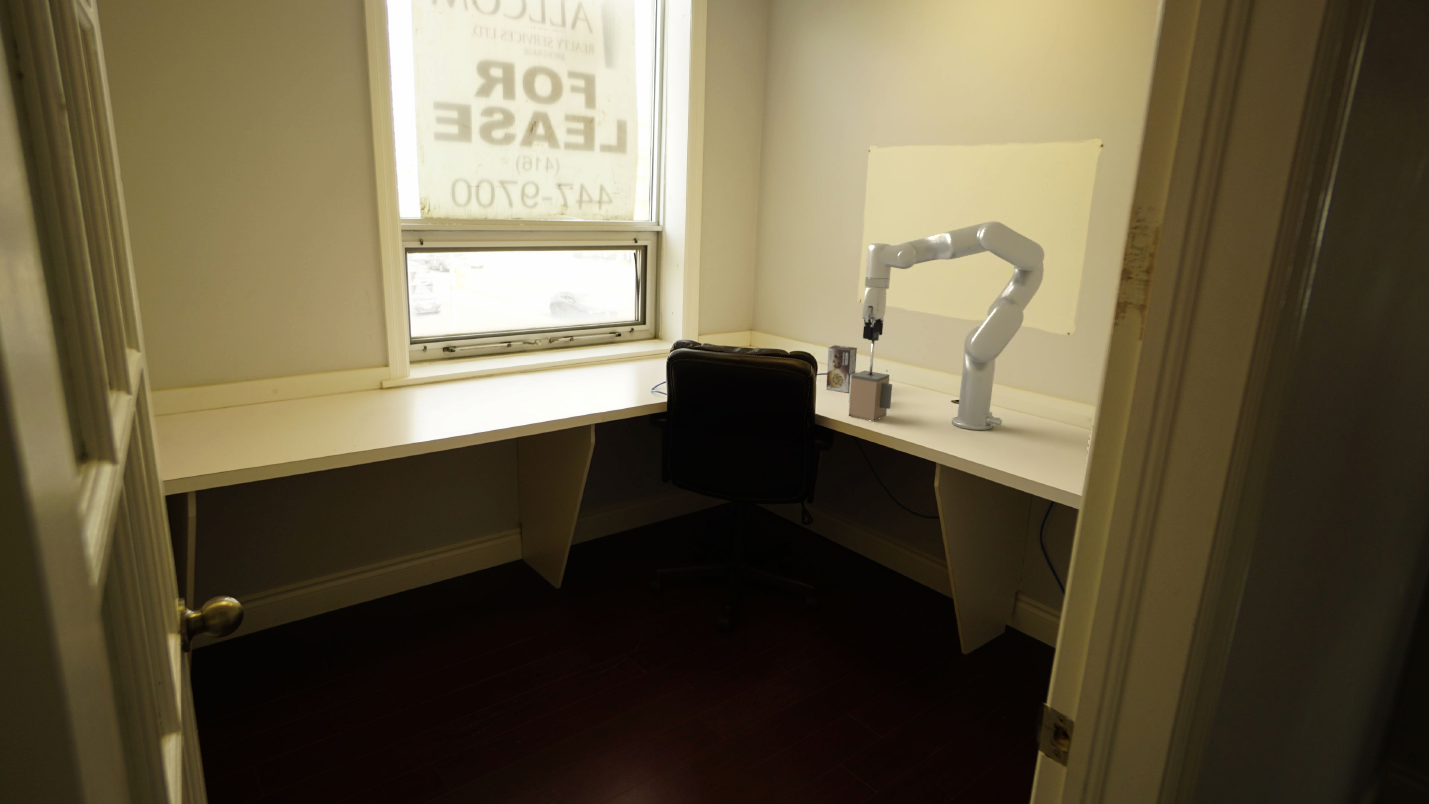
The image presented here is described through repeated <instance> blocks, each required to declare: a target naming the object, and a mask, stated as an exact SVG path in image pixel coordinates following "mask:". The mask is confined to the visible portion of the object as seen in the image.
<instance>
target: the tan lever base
mask: <svg viewBox="0 0 1429 804" xmlns="http://www.w3.org/2000/svg"><path fill="white" fill-rule="evenodd" d="M869 371H870V370H863V371H860V372H859V371H858V372H855V373H856V374H853V375H852V376H851V391H850V403H849V406H848V407H849V409H848V417H849V416H851V417H850V418H854V417H855V419H859V418H861V419H860V420H865V421H868V420H871V421H870V422H873V421H874V422H876V421H879V420H880V419H883V418H885V417H887V410H890V409H891V406H892V405H891V403H892V402H891V401H892V391H893V384H892V383H890V374H886V373H882V372H876V371H872V376H870V375H869ZM882 417H883V418H882ZM879 418H880V419H879ZM875 420H876V421H875Z"/></svg>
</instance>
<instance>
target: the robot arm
mask: <svg viewBox="0 0 1429 804" xmlns="http://www.w3.org/2000/svg"><path fill="white" fill-rule="evenodd" d="M985 252H989V253H991V254H993V255H994V256H996V257H998V258H1000V259H1002V260H1003V261H1004V262H1006V263H1009V264H1010V265H1012V266H1013V273H1012V275H1011V278H1010V279H1009V280H1008V282H1007V284H1006V286H1005V287H1004V288H1003V289H1002V291H1001V292H1000V294H999V295H998V296H997V297H996V298H995V300H994V301H993V302H992V303H991V304H990V306H989V307H988V310H987V317H986V318H985V320H984V321H983V322H982V324H981V325H980V326H976V327H974V328H972V329H971V330H970V331H969V332H968V333H967V334H966V336H965V339H964V344H963V345H964V348H963V362H962V363H963V364H962V373H961V382H960V392H959V401H958V409H957V416H955V417H953V418H952V419H951V423H952V424H953V426H956V427H958V428H961V429H967V430H974V431H983V430H984V431H985V430H990V429H992V428H993V427H994V425H995V426H1002V423H1003V419H1001V417H995V416H993V411H991V401H992V394H993V385H994V379H995V370H996V369H995V368H996V359H997V358H998V357H999V356H1000V354H1001V353H1002V352H1003V351H1004V350H1005V348H1006V347H1007V346H1008V345H1009V343H1010V342H1011V341H1012V340H1013V338H1014V336H1016V334H1017V332H1018V331H1019V330H1020V328H1021V327H1022V324H1023V322H1024V318H1025V317H1024V316H1025V315H1024V310H1026V308H1027V307H1028V305H1029V303H1031V301H1032V299H1033V298H1034V296H1035V295H1036V293H1037V292H1038V290H1039V289H1040V286H1041V285H1042V282H1043V278H1044V271H1045V269H1044V259H1045V251H1044V249H1043V247H1042V245H1040V244H1039V243H1037V242H1036V241H1034V240H1032V239H1030V238H1028V237H1026V236H1025V235H1023V234H1021V233H1019V232H1018V231H1015V230H1013V229H1012V228H1011V227H1008V226H1007V225H1005V224H1004V223H1002V222H1000V221H995V220H994V221H992V220H991V221H987V222H983V223H982V222H981V223H978V224H974V225H970V226H965V227H962V228H958V229H952V230H949V231H945V232H941V233H939V234H936V235H931V236H927V237H924V238H922V237H921V238H919V239H914V240H909V241H906V242H902V243H900V244H895V245H892V244H889V243H881V242H878V243H877V242H876V243H871V244H869V245H868V246H867V254H866V255H867V257H866V267H865V269H866V270H865V279H864V288H865V292H864V298H863V305H862V311H861V312H862V313H861V318H862V319H863V330H862V331H863V332H862V338H863V339H864V340H868V339H871V340H872V339H873V335H874V332H879V336H882V335H883V331H884V320H885V319H884V317H885V315H886V314H885V313H886V304H887V290H888V289H890V283H891V282H890V279H891V268H895V269H900V270H908V269H911V268H913V267H914V265H916V264H917V265H918V264H922V263H927V262H932V261H938V260H955V259H960V258H963V257H968V256H972V255H973V256H974V255H976V254H980V253H985ZM871 340H870V341H871Z"/></svg>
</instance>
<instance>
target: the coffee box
mask: <svg viewBox="0 0 1429 804" xmlns="http://www.w3.org/2000/svg"><path fill="white" fill-rule="evenodd" d="M857 351H858V348H857V347H853V346H845V345H836V344H835V345H832V346H830V347H828V348H827V370H826V371H827V373H826V388H825V389H826V390H828V391H835V392H841V393H848V394H849V388H850V375H851V374H852V373H856V367H857V364H856V363H857V353H858V352H857Z"/></svg>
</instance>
